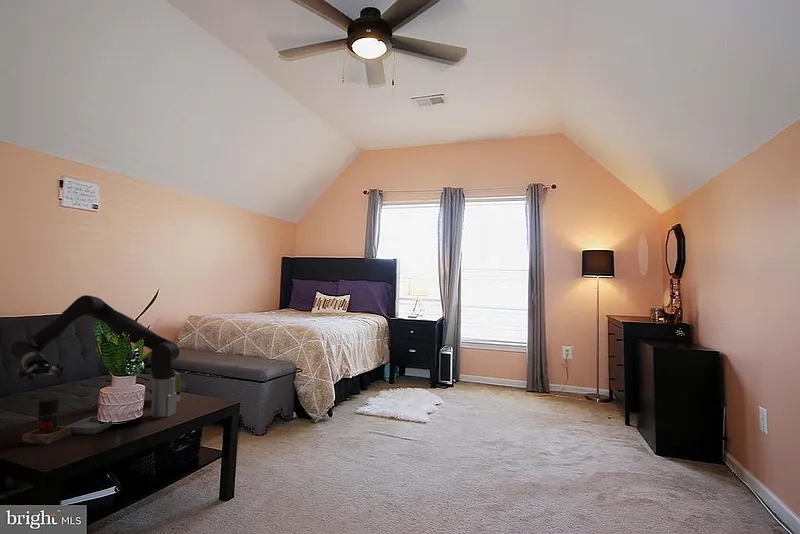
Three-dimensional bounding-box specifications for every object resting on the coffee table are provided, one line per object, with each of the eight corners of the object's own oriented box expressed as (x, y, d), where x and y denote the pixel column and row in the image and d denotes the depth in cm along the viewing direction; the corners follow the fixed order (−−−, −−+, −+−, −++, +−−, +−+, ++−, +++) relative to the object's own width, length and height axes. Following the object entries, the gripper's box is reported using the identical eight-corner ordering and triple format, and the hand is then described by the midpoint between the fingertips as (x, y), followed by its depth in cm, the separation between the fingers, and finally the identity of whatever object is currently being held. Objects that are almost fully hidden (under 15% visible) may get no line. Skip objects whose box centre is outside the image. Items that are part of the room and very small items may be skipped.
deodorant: (34, 439, 163) (36, 400, 163) (52, 434, 168) (54, 396, 169) (41, 442, 160) (43, 402, 161) (60, 437, 165) (62, 398, 166)
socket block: (71, 434, 169) (71, 426, 169) (47, 443, 158) (47, 435, 158) (47, 432, 170) (47, 425, 170) (22, 442, 159) (22, 434, 159)
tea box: (148, 400, 219) (149, 371, 219) (168, 396, 226) (169, 368, 227) (159, 405, 209) (160, 375, 210) (180, 401, 217) (181, 372, 217)
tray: (118, 423, 182) (118, 417, 182) (94, 434, 169) (94, 428, 169) (90, 422, 183) (90, 416, 183) (64, 433, 170) (64, 426, 170)
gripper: (14, 355, 174) (24, 369, 164) (57, 353, 185) (68, 366, 176) (11, 373, 174) (20, 387, 165) (54, 369, 186) (65, 383, 176)
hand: (45, 376), depth 170 cm, fingers open, 8 cm apart
